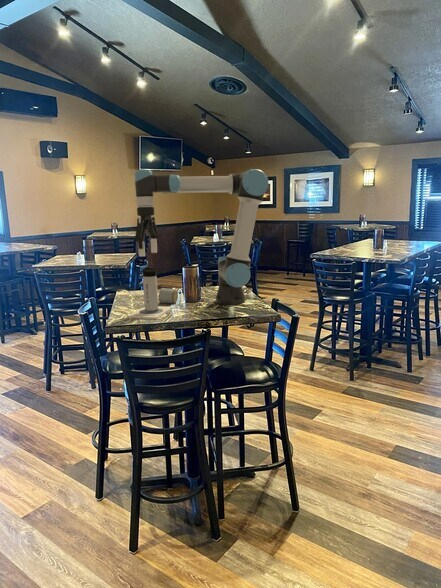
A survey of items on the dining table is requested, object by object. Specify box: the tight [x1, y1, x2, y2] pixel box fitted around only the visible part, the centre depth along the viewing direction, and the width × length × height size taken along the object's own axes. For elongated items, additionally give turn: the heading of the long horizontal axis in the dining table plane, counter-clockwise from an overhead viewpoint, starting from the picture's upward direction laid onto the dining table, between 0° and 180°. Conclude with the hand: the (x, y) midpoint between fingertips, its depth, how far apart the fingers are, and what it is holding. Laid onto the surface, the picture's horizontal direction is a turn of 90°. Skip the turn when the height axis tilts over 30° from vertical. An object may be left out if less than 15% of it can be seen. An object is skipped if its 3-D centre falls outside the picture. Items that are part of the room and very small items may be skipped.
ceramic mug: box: [158, 287, 179, 304], centre depth 223 cm, size 11×8×8 cm
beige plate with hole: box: [127, 305, 174, 320], centre depth 203 cm, size 14×20×1 cm
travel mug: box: [142, 267, 159, 313], centre depth 201 cm, size 6×7×20 cm
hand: (148, 254), depth 197 cm, fingers open, 13 cm apart
